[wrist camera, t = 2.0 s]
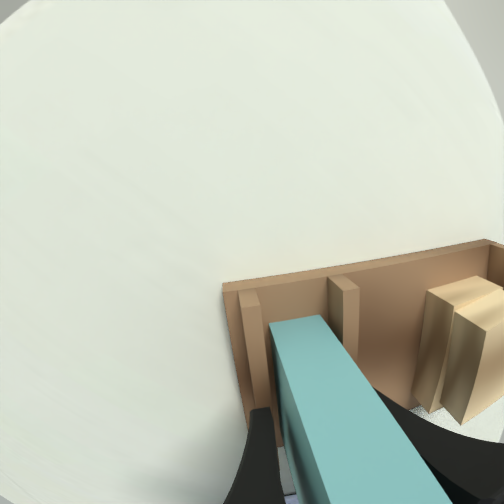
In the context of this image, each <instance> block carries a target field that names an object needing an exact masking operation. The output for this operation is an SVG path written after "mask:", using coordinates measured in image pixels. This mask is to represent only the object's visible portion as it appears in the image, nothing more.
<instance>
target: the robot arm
mask: <svg viewBox="0 0 504 504" xmlns="http://www.w3.org/2000/svg"><path fill="white" fill-rule="evenodd" d="M373 389H374V390H375V392H376V393H377V394H378V396H379V397H380V399H381V400H382V402H383V403H384V404H385V406H386V407H387V409H388V410H389V411H390V413H391V414H392V416H393V417H394V419H395V420H396V421H397V423H398V424H399V426H400V427H401V429H402V430H403V431H404V433H405V434H406V436H407V437H408V439H409V440H410V442H411V443H412V444H413V446H414V447H415V449H416V450H417V452H418V453H419V455H420V456H421V458H422V459H423V460H424V462H425V463H426V465H427V466H428V468H429V469H430V471H431V472H432V474H433V475H434V477H435V478H436V480H437V481H438V483H439V484H440V486H441V487H442V489H443V490H444V492H445V493H446V495H447V496H448V498H449V499H450V501H451V502H452V504H504V444H503V443H496V442H489V441H484V440H479V439H475V438H471V437H467V436H464V435H460V434H457V433H454V432H452V431H449V430H447V429H444V428H441V427H439V426H437V425H435V424H433V423H431V422H429V421H427V420H425V419H423V418H421V417H419V416H417V415H415V414H414V413H412V412H410V411H409V410H407V409H405V408H404V407H402V406H401V405H399V404H397V403H396V402H394V401H393V400H391V399H390V398H388V397H387V396H385V395H384V394H383V393H381V392H380V391H378V390H377V389H375V388H374V387H373ZM223 504H299V501H298V498H297V494H295V495H290V496H285V497H284V494H283V490H282V485H281V481H280V472H279V462H278V454H277V445H276V437H275V429H274V421H273V417H272V413H271V410H270V407H264V408H258V409H252V410H251V411H250V422H249V430H248V436H247V441H246V445H245V449H244V453H243V457H242V460H241V463H240V466H239V469H238V472H237V474H236V477H235V480H234V482H233V484H232V487H231V489H230V491H229V493H228V495H227V497H226V499H225V501H224V503H223Z"/></svg>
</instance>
